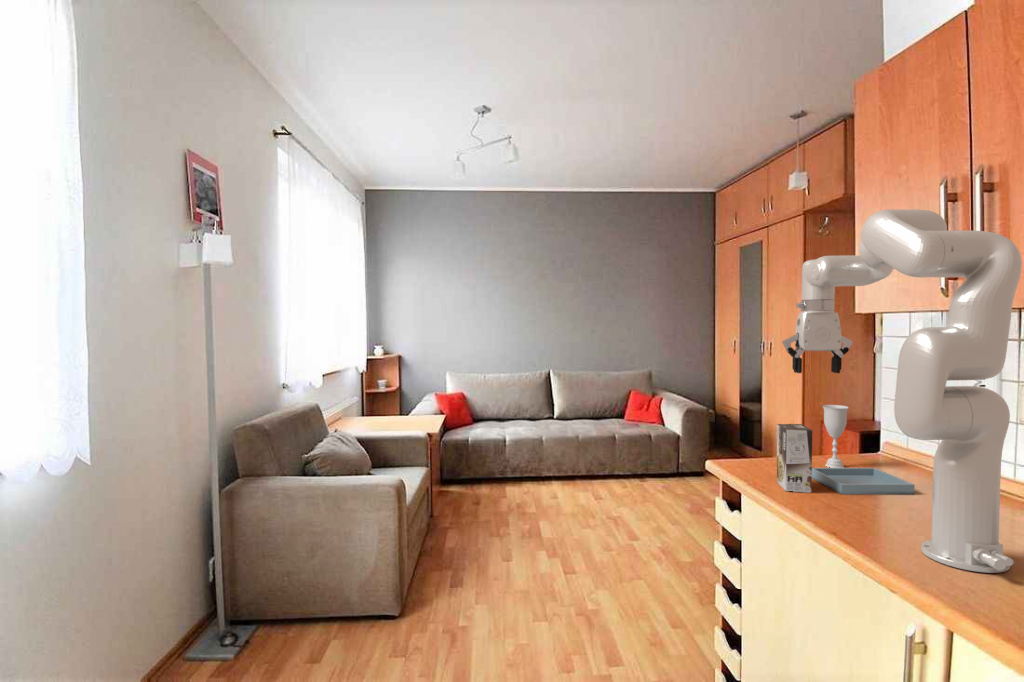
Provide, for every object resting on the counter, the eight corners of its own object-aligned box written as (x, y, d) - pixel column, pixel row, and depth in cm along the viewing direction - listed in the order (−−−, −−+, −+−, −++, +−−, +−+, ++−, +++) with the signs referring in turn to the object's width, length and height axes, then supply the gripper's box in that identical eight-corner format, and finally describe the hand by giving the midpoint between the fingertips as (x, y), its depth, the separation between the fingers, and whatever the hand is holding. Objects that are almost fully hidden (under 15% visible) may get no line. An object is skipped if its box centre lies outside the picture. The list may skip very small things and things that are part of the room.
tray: (914, 494, 140) (914, 484, 139) (841, 494, 140) (841, 484, 140) (874, 476, 156) (874, 467, 155) (809, 476, 156) (809, 467, 156)
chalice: (852, 470, 162) (853, 408, 162) (826, 469, 164) (827, 408, 163) (842, 463, 170) (842, 405, 169) (817, 462, 171) (818, 404, 170)
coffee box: (812, 493, 141) (813, 430, 141) (785, 491, 142) (785, 429, 142) (801, 483, 150) (802, 423, 150) (775, 481, 151) (776, 422, 151)
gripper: (790, 307, 142) (789, 374, 143) (860, 306, 141) (858, 374, 142) (777, 307, 149) (776, 371, 150) (844, 307, 148) (843, 371, 149)
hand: (816, 372), depth 146 cm, fingers open, 9 cm apart
